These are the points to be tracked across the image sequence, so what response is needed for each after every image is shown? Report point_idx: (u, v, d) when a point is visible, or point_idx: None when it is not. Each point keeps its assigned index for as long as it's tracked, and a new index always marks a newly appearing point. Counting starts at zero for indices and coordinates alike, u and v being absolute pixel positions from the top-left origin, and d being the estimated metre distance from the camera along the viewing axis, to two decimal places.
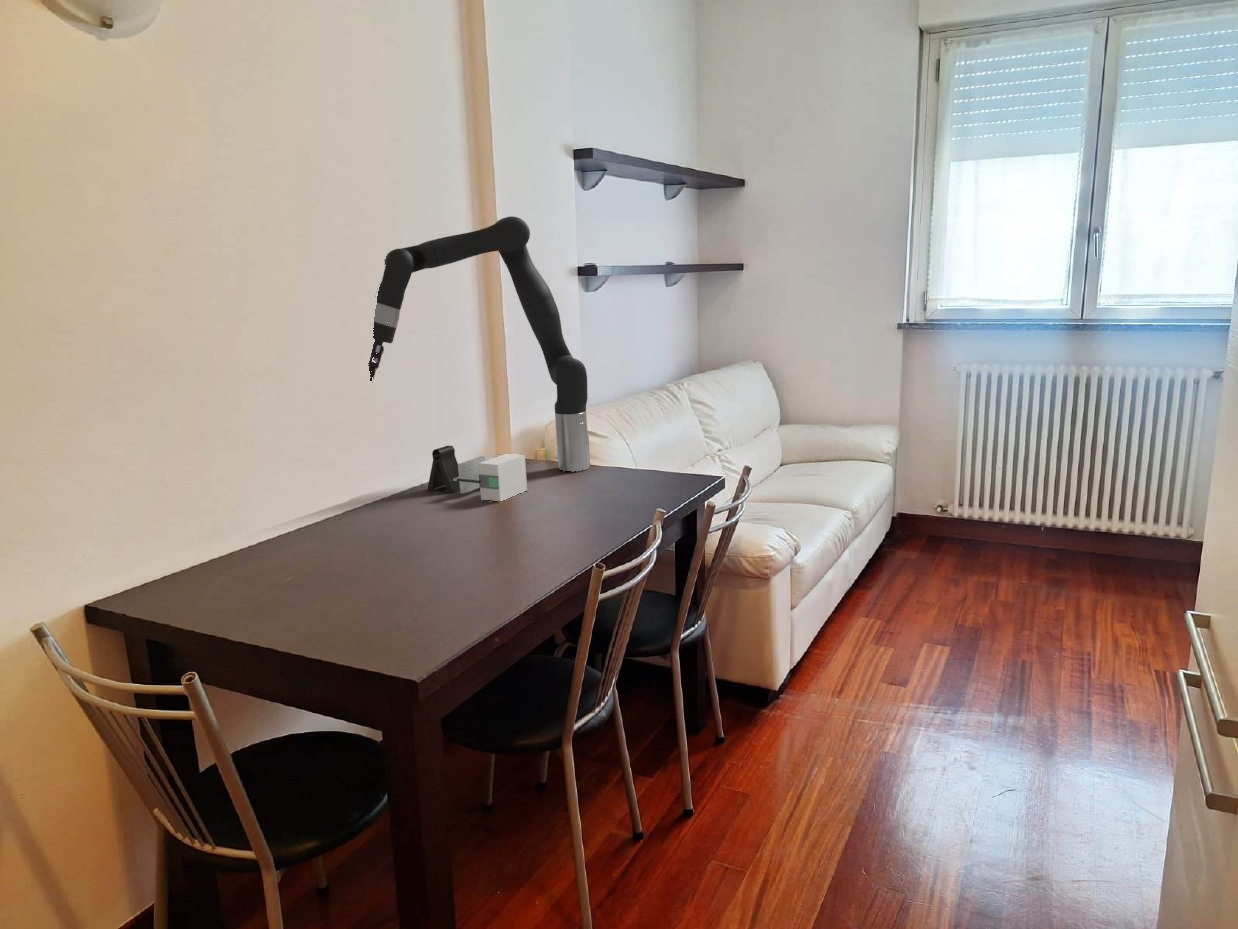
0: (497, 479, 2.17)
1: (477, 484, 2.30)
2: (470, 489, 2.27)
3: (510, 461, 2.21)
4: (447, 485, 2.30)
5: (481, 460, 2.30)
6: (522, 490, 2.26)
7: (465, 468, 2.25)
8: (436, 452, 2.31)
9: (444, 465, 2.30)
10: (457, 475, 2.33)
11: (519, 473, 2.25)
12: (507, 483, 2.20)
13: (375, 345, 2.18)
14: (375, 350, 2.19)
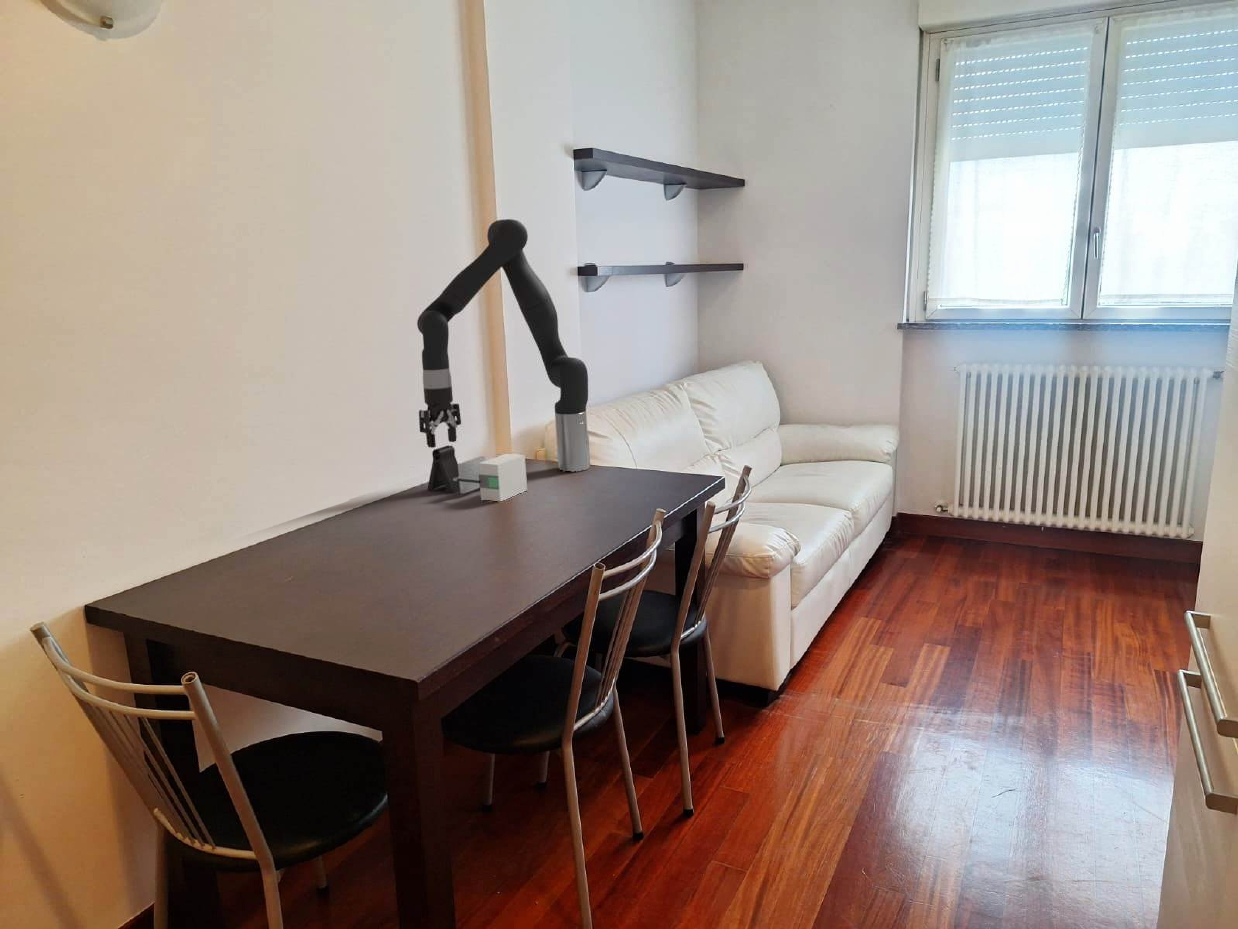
0: (497, 479, 2.17)
1: (477, 484, 2.30)
2: (470, 489, 2.27)
3: (510, 461, 2.21)
4: (447, 485, 2.30)
5: (481, 460, 2.30)
6: (522, 490, 2.26)
7: (465, 468, 2.25)
8: (436, 452, 2.31)
9: (444, 465, 2.30)
10: (457, 475, 2.33)
11: (519, 473, 2.25)
12: (507, 483, 2.20)
13: (420, 411, 2.24)
14: (421, 416, 2.24)
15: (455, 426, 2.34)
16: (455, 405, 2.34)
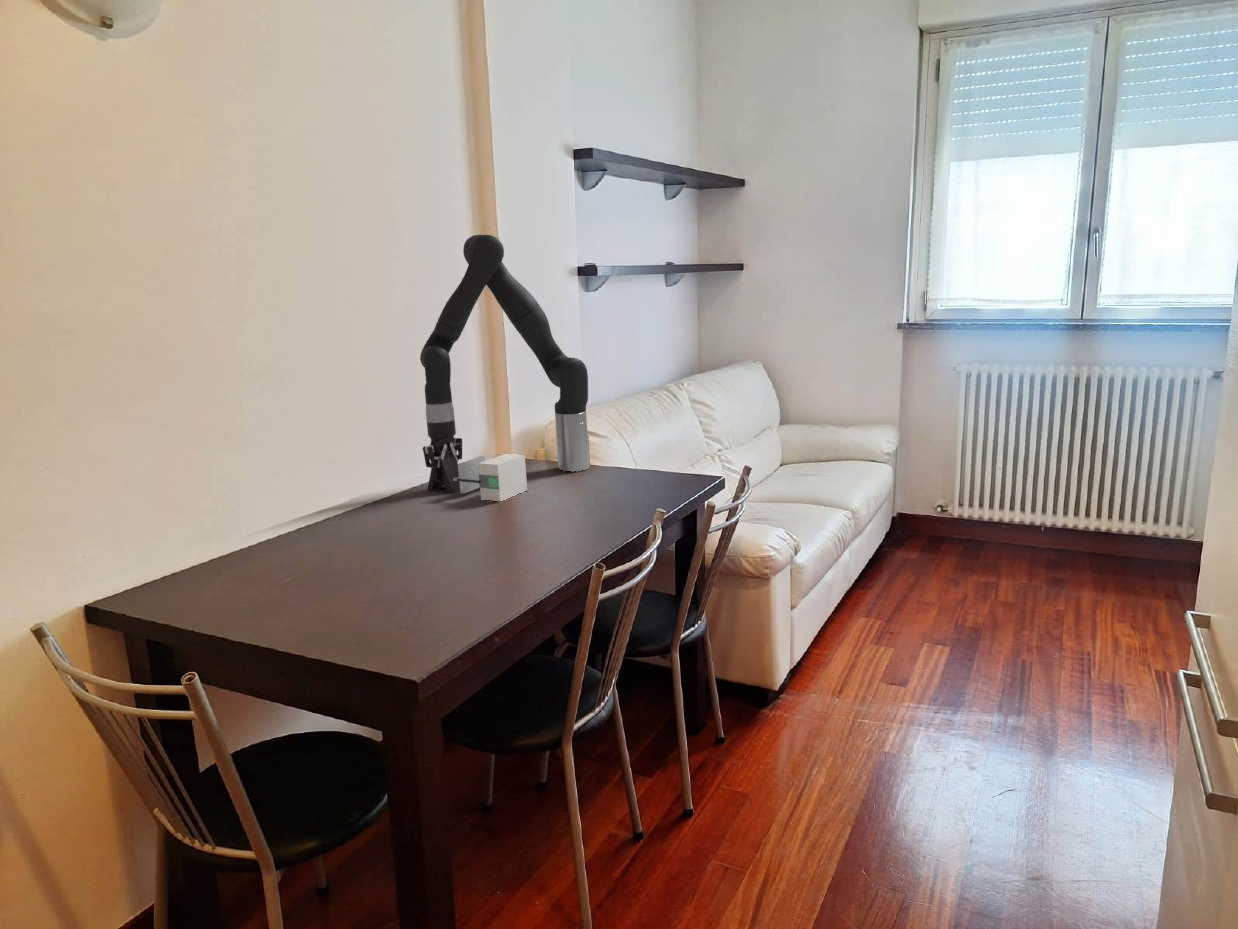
0: (497, 479, 2.17)
1: (477, 484, 2.30)
2: (470, 489, 2.27)
3: (510, 461, 2.21)
4: (447, 485, 2.30)
5: (481, 460, 2.30)
6: (522, 490, 2.26)
7: (465, 468, 2.25)
8: None
9: (444, 465, 2.30)
10: (457, 475, 2.33)
11: (519, 473, 2.25)
12: (507, 483, 2.20)
13: (423, 448, 2.26)
14: (425, 453, 2.26)
15: None
16: (458, 439, 2.36)
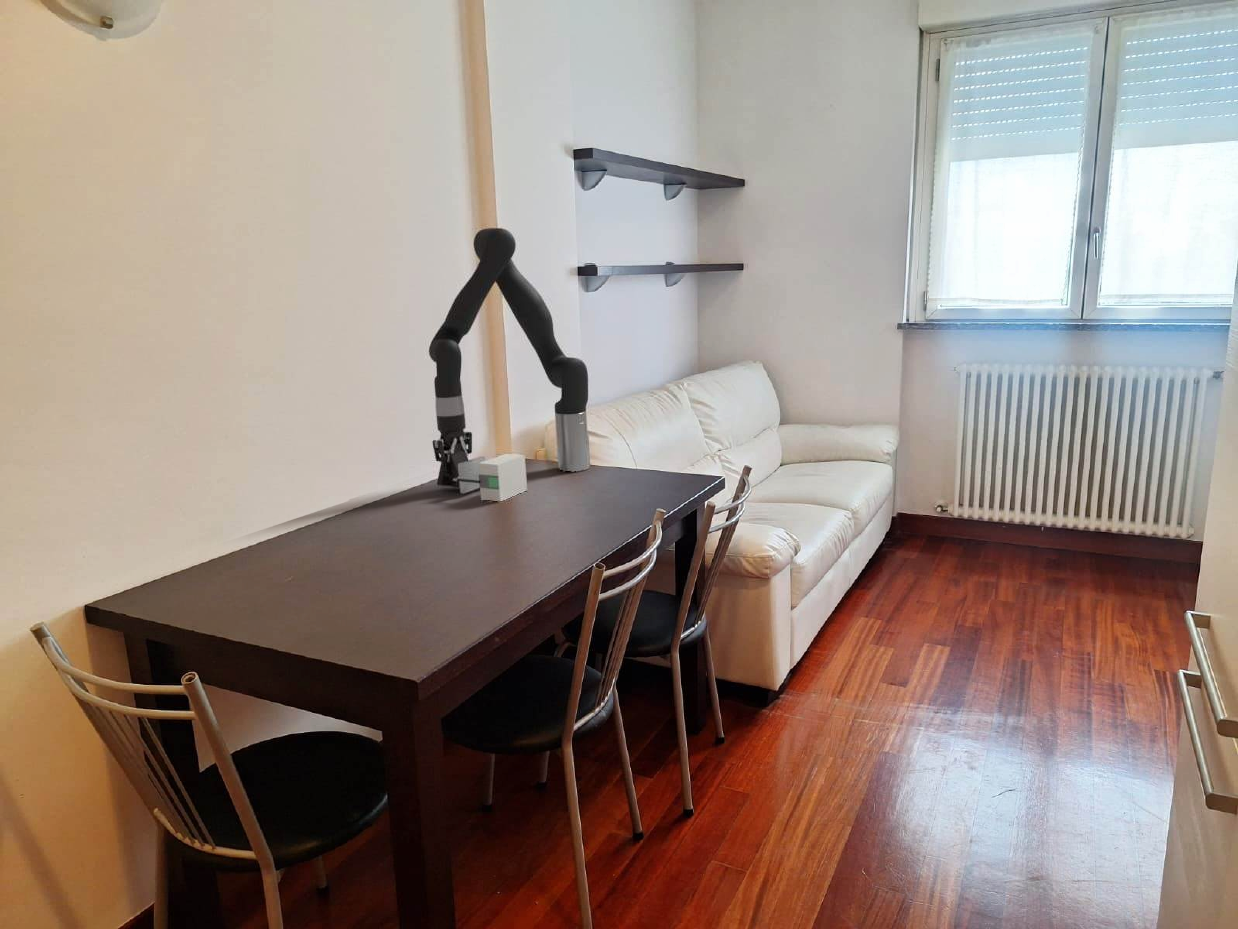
0: (497, 479, 2.17)
1: (477, 484, 2.30)
2: (470, 489, 2.27)
3: (510, 461, 2.21)
4: None
5: (481, 460, 2.30)
6: (522, 490, 2.26)
7: (465, 468, 2.25)
8: None
9: (454, 459, 2.27)
10: None
11: (519, 473, 2.25)
12: (507, 483, 2.20)
13: (433, 442, 2.24)
14: (435, 446, 2.24)
15: None
16: (468, 433, 2.34)
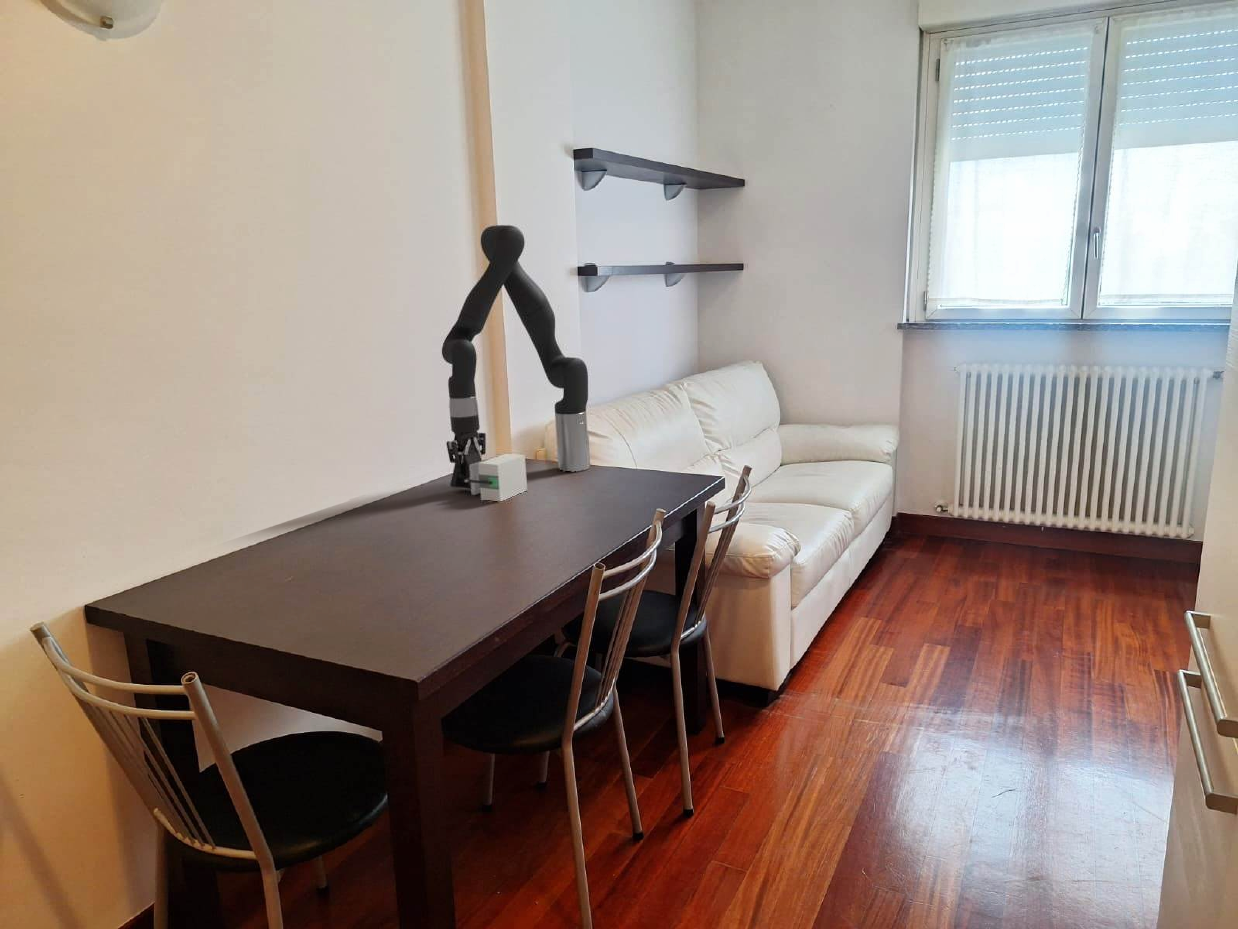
0: (497, 479, 2.17)
1: None
2: None
3: (510, 461, 2.21)
4: None
5: None
6: (522, 490, 2.26)
7: (476, 469, 2.23)
8: None
9: (468, 460, 2.25)
10: None
11: (519, 473, 2.25)
12: (507, 483, 2.20)
13: (447, 443, 2.22)
14: (449, 448, 2.22)
15: (480, 456, 2.31)
16: (482, 434, 2.31)
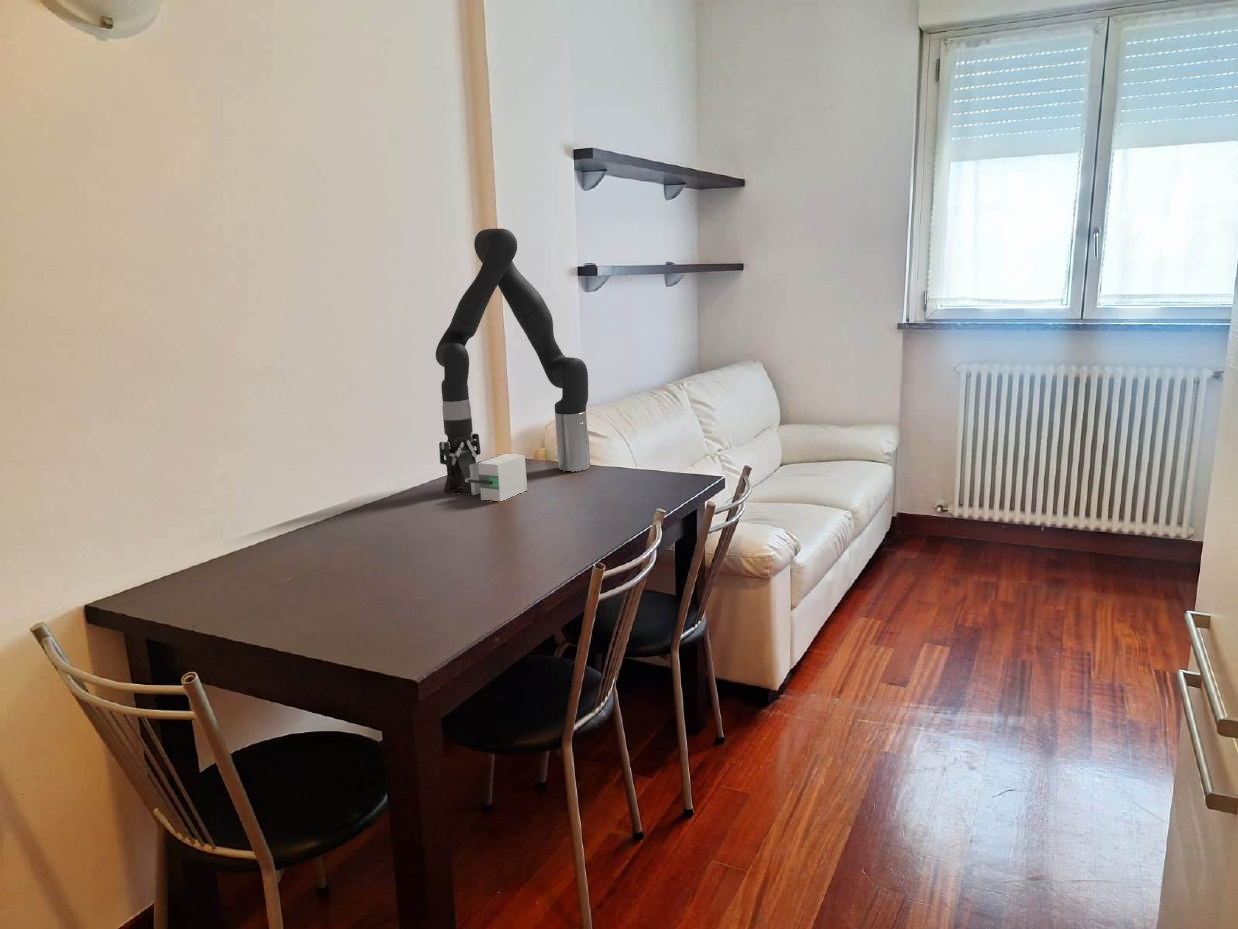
0: (497, 479, 2.17)
1: None
2: None
3: (510, 461, 2.21)
4: (464, 487, 2.27)
5: None
6: (522, 490, 2.26)
7: (476, 469, 2.23)
8: (453, 453, 2.28)
9: (461, 467, 2.27)
10: None
11: (519, 473, 2.25)
12: (507, 483, 2.20)
13: (440, 443, 2.23)
14: (441, 448, 2.23)
15: (475, 456, 2.33)
16: (475, 435, 2.33)
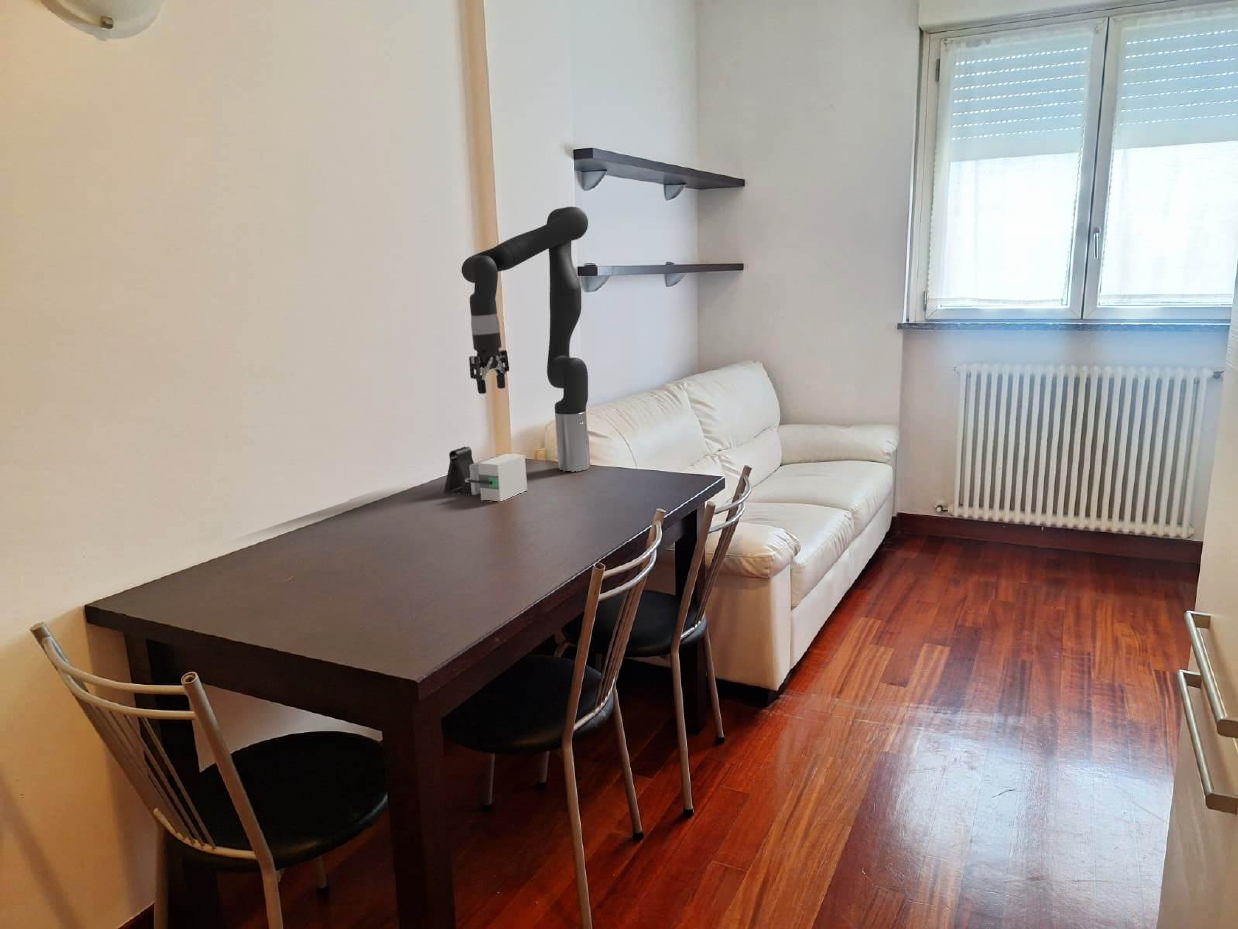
0: (497, 479, 2.17)
1: None
2: None
3: (510, 461, 2.21)
4: (464, 487, 2.27)
5: None
6: (522, 490, 2.26)
7: (476, 469, 2.23)
8: (453, 453, 2.28)
9: (461, 467, 2.27)
10: None
11: (519, 473, 2.25)
12: (507, 483, 2.20)
13: (470, 357, 2.24)
14: (471, 362, 2.24)
15: (504, 372, 2.34)
16: (503, 351, 2.34)
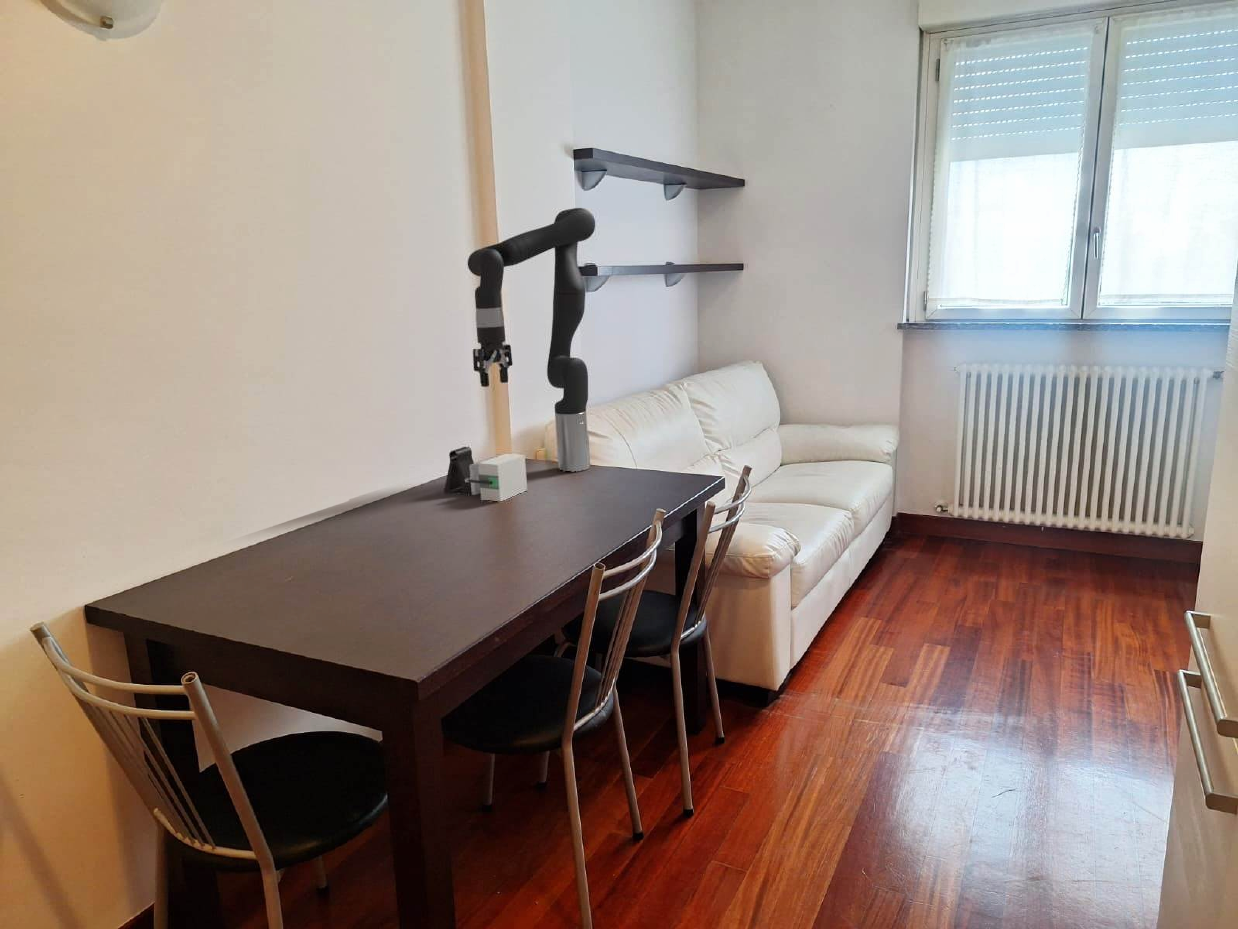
0: (497, 479, 2.17)
1: None
2: None
3: (510, 461, 2.21)
4: (464, 487, 2.27)
5: None
6: (522, 490, 2.26)
7: (476, 469, 2.23)
8: (453, 453, 2.28)
9: (461, 467, 2.27)
10: None
11: (519, 473, 2.25)
12: (507, 483, 2.20)
13: (474, 350, 2.24)
14: (475, 355, 2.24)
15: (507, 367, 2.34)
16: (507, 346, 2.34)
